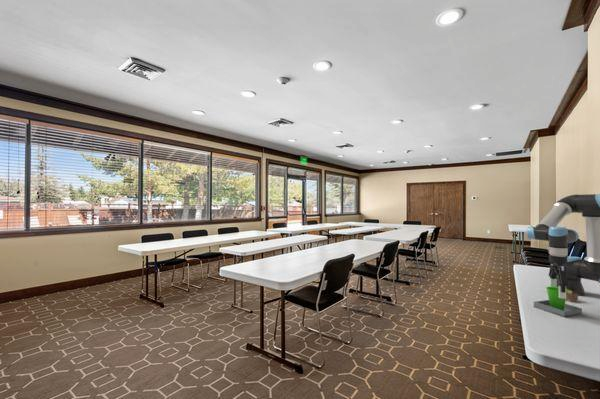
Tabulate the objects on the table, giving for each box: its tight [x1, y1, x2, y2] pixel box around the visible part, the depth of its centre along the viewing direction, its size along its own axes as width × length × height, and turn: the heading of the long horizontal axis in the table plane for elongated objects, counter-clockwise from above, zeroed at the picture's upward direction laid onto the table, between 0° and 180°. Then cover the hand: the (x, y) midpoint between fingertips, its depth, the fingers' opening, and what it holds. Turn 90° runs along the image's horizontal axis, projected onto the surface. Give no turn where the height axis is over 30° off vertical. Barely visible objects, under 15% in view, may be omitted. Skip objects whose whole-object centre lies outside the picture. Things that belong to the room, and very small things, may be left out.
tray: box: [533, 299, 583, 318], centre depth 152 cm, size 14×14×3 cm
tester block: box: [565, 293, 579, 303], centre depth 171 cm, size 7×7×4 cm
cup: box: [545, 286, 568, 310], centre depth 152 cm, size 9×9×11 cm
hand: (557, 294), depth 153 cm, fingers open, 13 cm apart
